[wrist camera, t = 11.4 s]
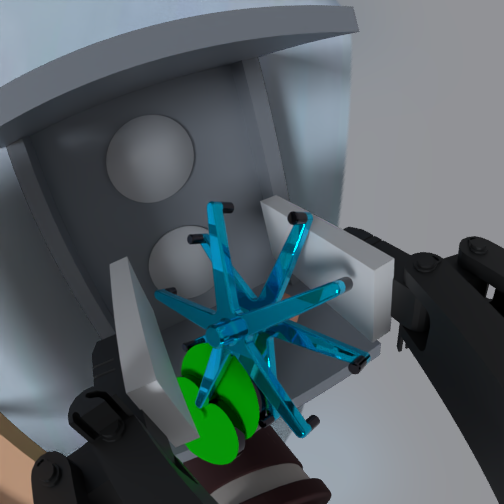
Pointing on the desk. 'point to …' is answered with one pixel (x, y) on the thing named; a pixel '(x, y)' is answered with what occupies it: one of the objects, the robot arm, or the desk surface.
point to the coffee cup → (260, 475)
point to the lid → (16, 464)
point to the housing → (168, 169)
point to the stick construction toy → (248, 343)
